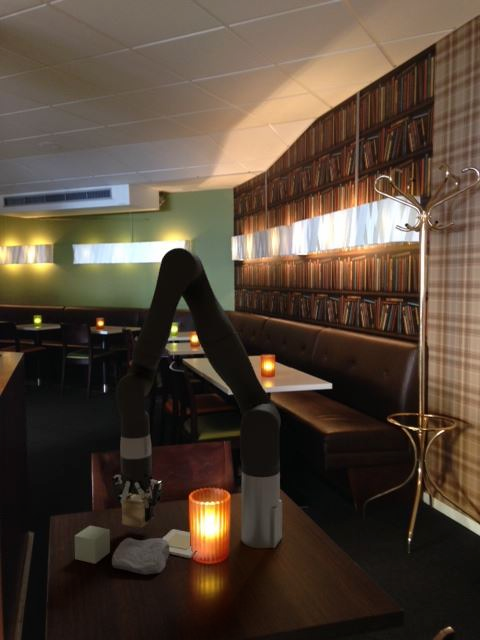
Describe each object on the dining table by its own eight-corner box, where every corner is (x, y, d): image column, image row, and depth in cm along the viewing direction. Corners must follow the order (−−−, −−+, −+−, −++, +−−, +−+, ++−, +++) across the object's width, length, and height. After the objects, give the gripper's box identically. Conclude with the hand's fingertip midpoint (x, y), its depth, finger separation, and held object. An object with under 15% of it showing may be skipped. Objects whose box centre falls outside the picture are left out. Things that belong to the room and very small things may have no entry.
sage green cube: (109, 552, 122) (109, 529, 122) (95, 564, 117) (94, 540, 117) (90, 548, 124) (90, 525, 124) (75, 559, 119) (74, 535, 119)
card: (208, 538, 129) (208, 535, 129) (190, 558, 120) (190, 554, 120) (172, 531, 133) (172, 528, 132) (152, 550, 123) (152, 546, 123)
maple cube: (153, 518, 133) (152, 497, 133) (141, 527, 128) (141, 505, 127) (134, 515, 135) (133, 494, 135) (122, 524, 130) (121, 502, 129)
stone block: (161, 583, 113) (172, 551, 123) (159, 564, 112) (170, 533, 121) (108, 582, 114) (122, 550, 124) (105, 563, 113) (120, 533, 122)
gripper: (169, 451, 131) (170, 517, 132) (120, 445, 136) (121, 509, 137) (153, 460, 124) (155, 530, 125) (102, 454, 129) (104, 521, 130)
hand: (137, 518), depth 131 cm, fingers closed on maple cube, 5 cm apart
